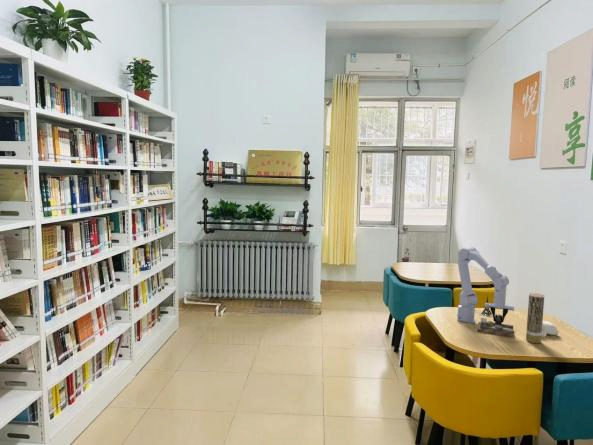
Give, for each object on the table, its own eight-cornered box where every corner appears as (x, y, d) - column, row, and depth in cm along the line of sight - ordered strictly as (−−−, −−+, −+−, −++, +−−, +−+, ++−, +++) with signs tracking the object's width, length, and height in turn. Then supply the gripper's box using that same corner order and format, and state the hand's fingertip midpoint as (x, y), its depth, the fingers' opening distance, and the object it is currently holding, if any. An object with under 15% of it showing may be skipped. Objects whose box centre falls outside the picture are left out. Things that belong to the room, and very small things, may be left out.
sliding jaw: (494, 329, 221) (495, 316, 220) (494, 325, 228) (495, 313, 227) (501, 330, 219) (502, 317, 219) (501, 326, 226) (502, 313, 226)
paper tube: (540, 340, 211) (543, 294, 209) (541, 344, 205) (545, 297, 203) (525, 338, 214) (528, 292, 212) (526, 342, 208) (529, 295, 205)
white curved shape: (545, 336, 226) (522, 327, 224) (551, 322, 225) (529, 313, 223) (556, 342, 217) (533, 332, 215) (563, 328, 217) (539, 318, 215)
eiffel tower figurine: (471, 310, 263) (473, 290, 262) (486, 310, 264) (487, 290, 263) (484, 318, 248) (485, 297, 247) (500, 317, 249) (501, 297, 248)
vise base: (477, 331, 222) (477, 322, 222) (478, 324, 235) (478, 315, 234) (513, 337, 214) (514, 328, 214) (512, 329, 227) (513, 320, 226)
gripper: (485, 297, 222) (483, 321, 223) (515, 301, 215) (513, 325, 217) (485, 294, 228) (484, 317, 229) (514, 298, 222) (512, 321, 223)
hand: (498, 321), depth 223 cm, fingers closed on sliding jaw, 3 cm apart
